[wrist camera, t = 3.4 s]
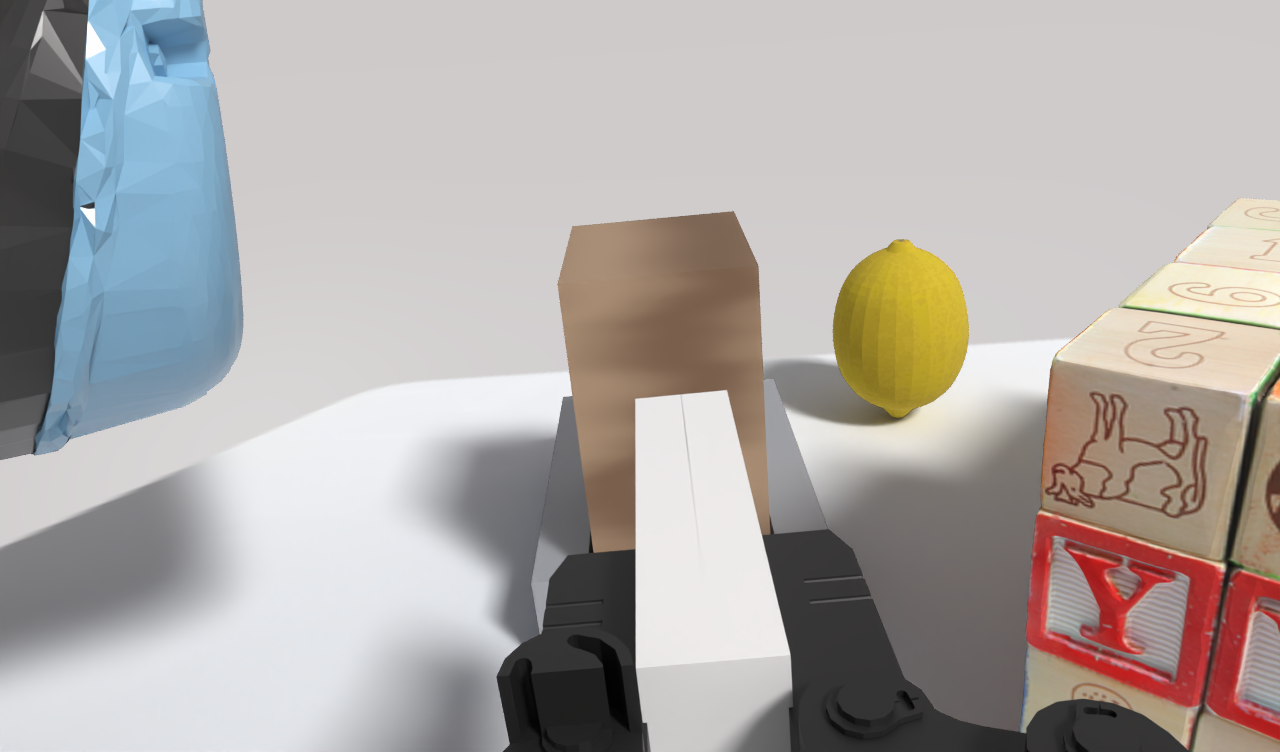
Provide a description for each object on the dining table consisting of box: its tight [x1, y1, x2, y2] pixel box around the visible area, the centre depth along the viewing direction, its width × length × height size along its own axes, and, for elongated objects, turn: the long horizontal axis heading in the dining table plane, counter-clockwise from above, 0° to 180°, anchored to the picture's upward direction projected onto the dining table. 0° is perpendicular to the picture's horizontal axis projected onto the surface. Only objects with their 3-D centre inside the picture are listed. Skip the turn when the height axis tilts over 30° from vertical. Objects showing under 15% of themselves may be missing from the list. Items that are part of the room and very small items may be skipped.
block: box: [558, 211, 770, 553], centre depth 28 cm, size 5×6×11 cm
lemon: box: [833, 239, 969, 418], centre depth 39 cm, size 6×6×8 cm
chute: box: [531, 379, 828, 634], centre depth 33 cm, size 9×13×3 cm
